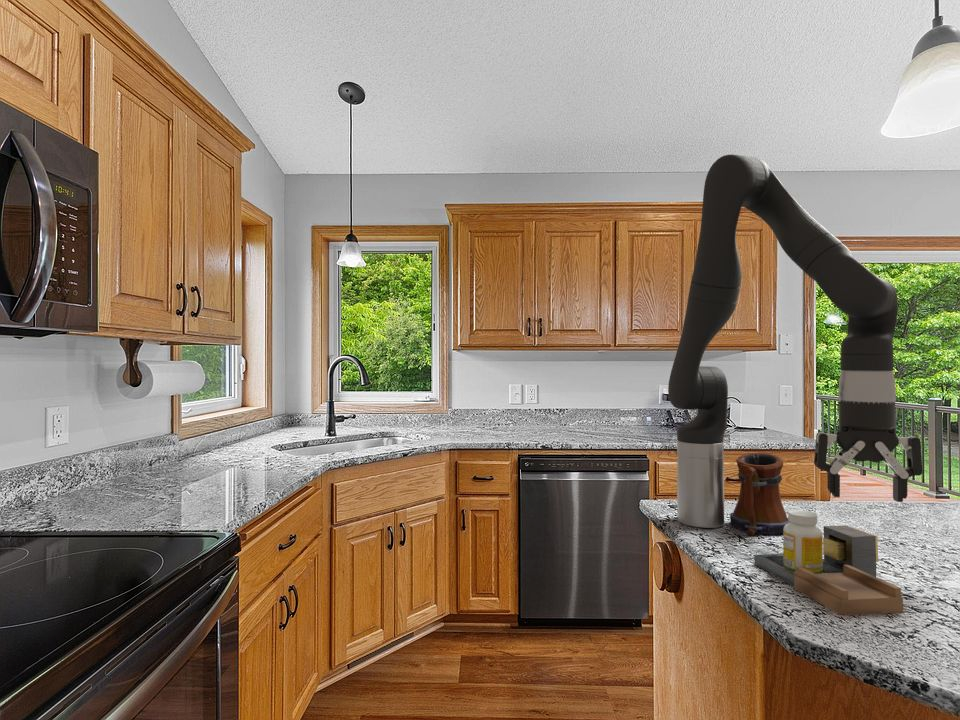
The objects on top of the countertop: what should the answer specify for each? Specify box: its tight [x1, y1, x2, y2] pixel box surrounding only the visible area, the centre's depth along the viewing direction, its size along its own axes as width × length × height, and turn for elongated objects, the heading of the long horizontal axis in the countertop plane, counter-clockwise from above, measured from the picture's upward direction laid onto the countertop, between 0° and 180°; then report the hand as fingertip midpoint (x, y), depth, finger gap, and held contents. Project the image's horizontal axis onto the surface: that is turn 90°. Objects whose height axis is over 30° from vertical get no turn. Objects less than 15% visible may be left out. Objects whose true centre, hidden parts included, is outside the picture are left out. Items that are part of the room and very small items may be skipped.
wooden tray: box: [793, 565, 904, 617], centre depth 77 cm, size 9×9×3 cm
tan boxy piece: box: [822, 526, 879, 563], centre depth 88 cm, size 5×6×4 cm
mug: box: [729, 452, 790, 537], centre depth 111 cm, size 18×12×15 cm, turn 141°
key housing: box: [823, 524, 877, 577], centre depth 88 cm, size 6×4×6 cm, turn 6°
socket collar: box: [753, 553, 843, 587], centre depth 87 cm, size 10×10×2 cm
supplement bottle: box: [782, 509, 824, 574], centre depth 87 cm, size 5×5×10 cm
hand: (866, 498), depth 89 cm, fingers open, 8 cm apart
